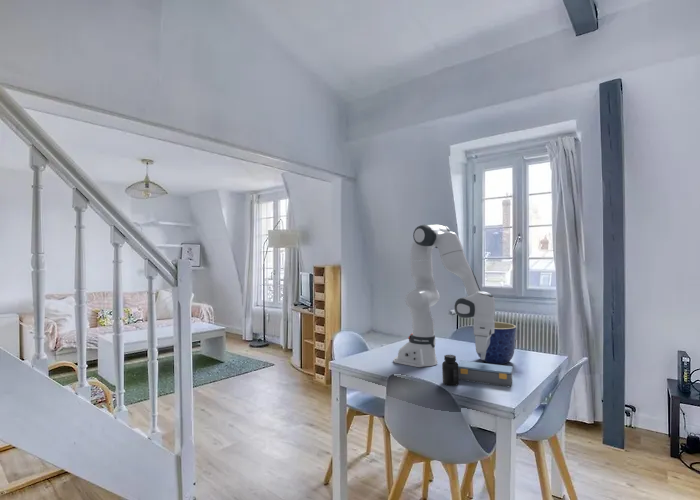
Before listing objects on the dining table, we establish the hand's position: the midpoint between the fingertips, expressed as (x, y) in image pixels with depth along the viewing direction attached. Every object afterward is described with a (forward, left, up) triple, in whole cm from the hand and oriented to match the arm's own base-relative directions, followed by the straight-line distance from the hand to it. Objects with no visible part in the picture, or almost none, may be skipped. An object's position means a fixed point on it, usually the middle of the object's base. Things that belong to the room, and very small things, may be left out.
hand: (483, 358), depth 175 cm
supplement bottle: (-12, -12, -9) cm, 19 cm away
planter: (+2, +33, -9) cm, 34 cm away
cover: (+1, -1, -6) cm, 6 cm away
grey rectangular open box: (+1, 0, -9) cm, 9 cm away
